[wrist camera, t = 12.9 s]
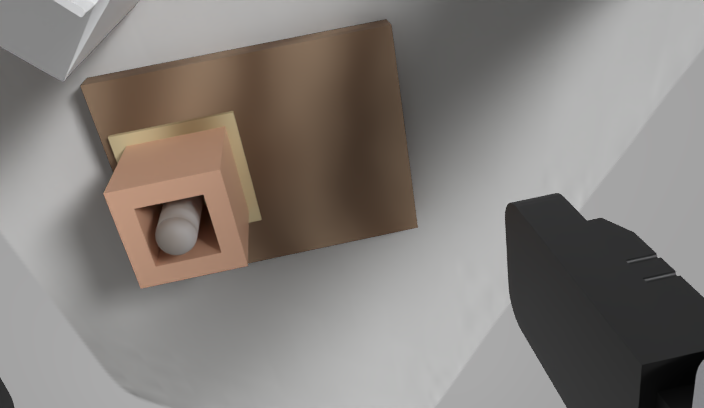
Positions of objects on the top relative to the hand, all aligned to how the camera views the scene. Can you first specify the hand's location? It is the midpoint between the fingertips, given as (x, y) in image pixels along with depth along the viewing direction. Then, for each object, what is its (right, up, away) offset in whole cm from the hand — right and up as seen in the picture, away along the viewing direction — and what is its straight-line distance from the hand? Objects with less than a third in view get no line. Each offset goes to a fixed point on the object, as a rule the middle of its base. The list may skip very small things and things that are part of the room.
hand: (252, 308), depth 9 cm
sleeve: (-8, +3, +27) cm, 28 cm away
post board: (-4, +5, +29) cm, 30 cm away
